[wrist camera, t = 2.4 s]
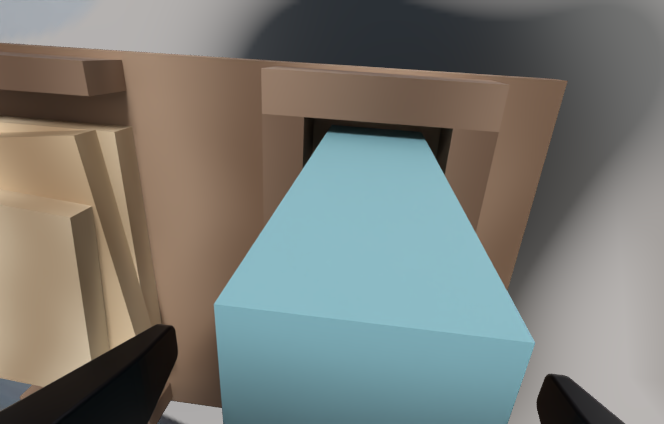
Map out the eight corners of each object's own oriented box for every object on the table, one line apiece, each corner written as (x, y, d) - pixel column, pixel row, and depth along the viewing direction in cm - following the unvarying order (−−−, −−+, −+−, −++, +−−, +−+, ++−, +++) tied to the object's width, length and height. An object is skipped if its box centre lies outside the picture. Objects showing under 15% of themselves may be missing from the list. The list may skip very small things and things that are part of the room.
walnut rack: (61, 367, 16) (14, 414, 14) (-37, 40, 11) (-132, 37, 9) (459, 423, 15) (472, 484, 13) (553, 78, 10) (600, 86, 8)
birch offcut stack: (43, 346, 15) (-15, 397, 13) (-30, 112, 11) (-128, 126, 9) (175, 364, 14) (138, 420, 12) (142, 126, 11) (81, 145, 9)
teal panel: (316, 393, 14) (249, 756, 7) (331, 124, 10) (213, 305, 3) (380, 402, 14) (383, 786, 7) (421, 132, 10) (535, 342, 3)
